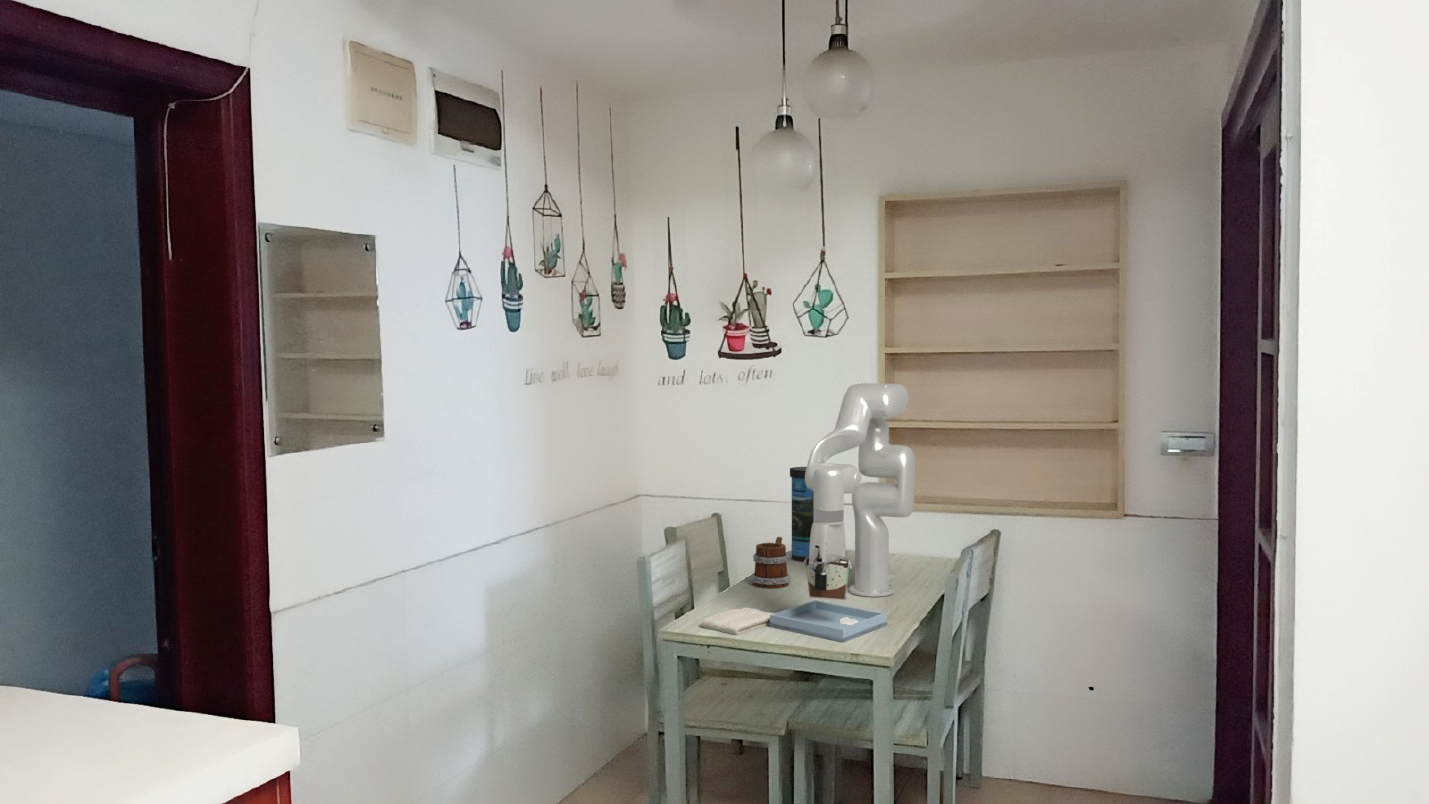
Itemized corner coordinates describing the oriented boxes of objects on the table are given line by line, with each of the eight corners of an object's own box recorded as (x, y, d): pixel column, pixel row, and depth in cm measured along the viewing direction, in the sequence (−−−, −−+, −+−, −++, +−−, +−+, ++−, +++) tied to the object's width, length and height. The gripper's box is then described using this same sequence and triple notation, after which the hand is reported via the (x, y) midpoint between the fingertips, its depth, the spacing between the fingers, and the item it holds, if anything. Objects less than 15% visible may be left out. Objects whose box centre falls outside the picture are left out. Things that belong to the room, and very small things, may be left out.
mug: (744, 587, 310) (746, 535, 311) (759, 585, 323) (762, 535, 325) (782, 590, 306) (785, 537, 307) (796, 588, 319) (798, 538, 320)
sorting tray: (815, 611, 282) (815, 600, 282) (886, 625, 268) (887, 613, 268) (769, 626, 267) (769, 615, 267) (843, 642, 253) (843, 630, 253)
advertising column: (825, 555, 356) (825, 466, 354) (822, 562, 345) (822, 471, 343) (791, 554, 358) (791, 466, 356) (787, 561, 347) (787, 470, 345)
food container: (857, 595, 268) (857, 556, 268) (851, 600, 263) (851, 561, 262) (810, 591, 273) (810, 553, 272) (803, 597, 267) (803, 557, 267)
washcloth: (781, 623, 272) (781, 611, 272) (736, 638, 259) (736, 625, 259) (746, 615, 280) (746, 604, 280) (700, 629, 267) (700, 617, 267)
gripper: (835, 511, 275) (835, 579, 276) (796, 519, 262) (796, 591, 263) (859, 514, 270) (859, 584, 271) (821, 522, 257) (821, 596, 258)
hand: (828, 587), depth 267 cm, fingers closed on food container, 6 cm apart
